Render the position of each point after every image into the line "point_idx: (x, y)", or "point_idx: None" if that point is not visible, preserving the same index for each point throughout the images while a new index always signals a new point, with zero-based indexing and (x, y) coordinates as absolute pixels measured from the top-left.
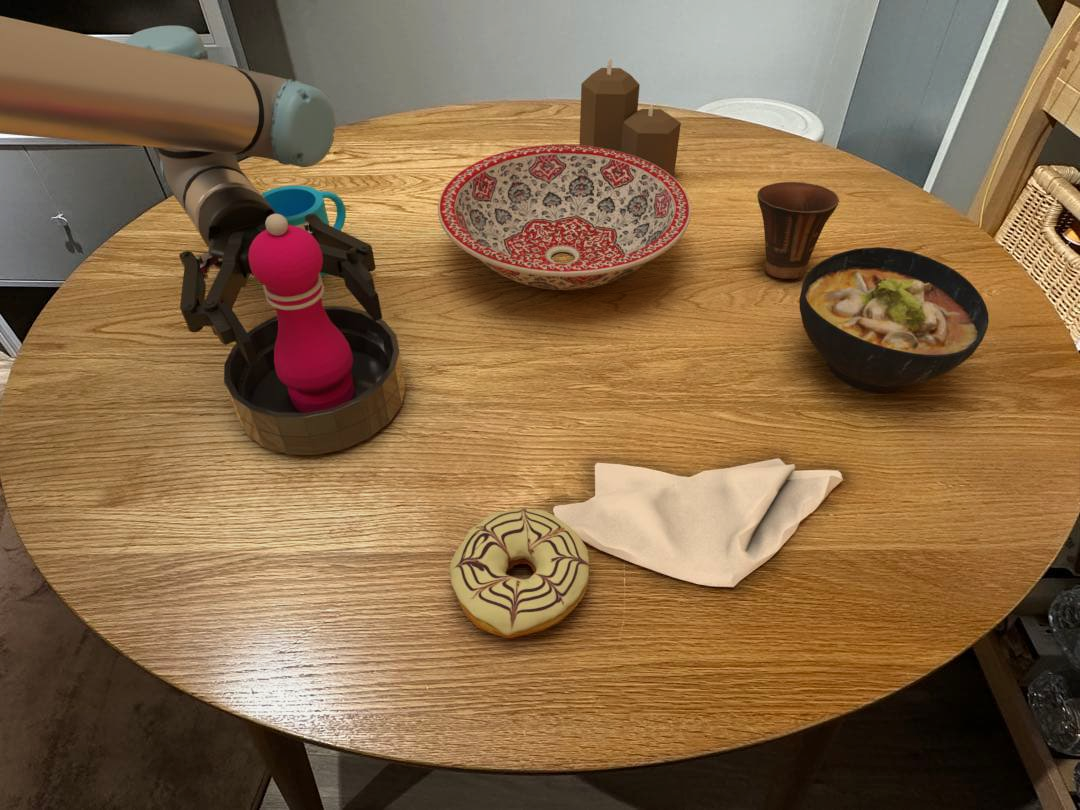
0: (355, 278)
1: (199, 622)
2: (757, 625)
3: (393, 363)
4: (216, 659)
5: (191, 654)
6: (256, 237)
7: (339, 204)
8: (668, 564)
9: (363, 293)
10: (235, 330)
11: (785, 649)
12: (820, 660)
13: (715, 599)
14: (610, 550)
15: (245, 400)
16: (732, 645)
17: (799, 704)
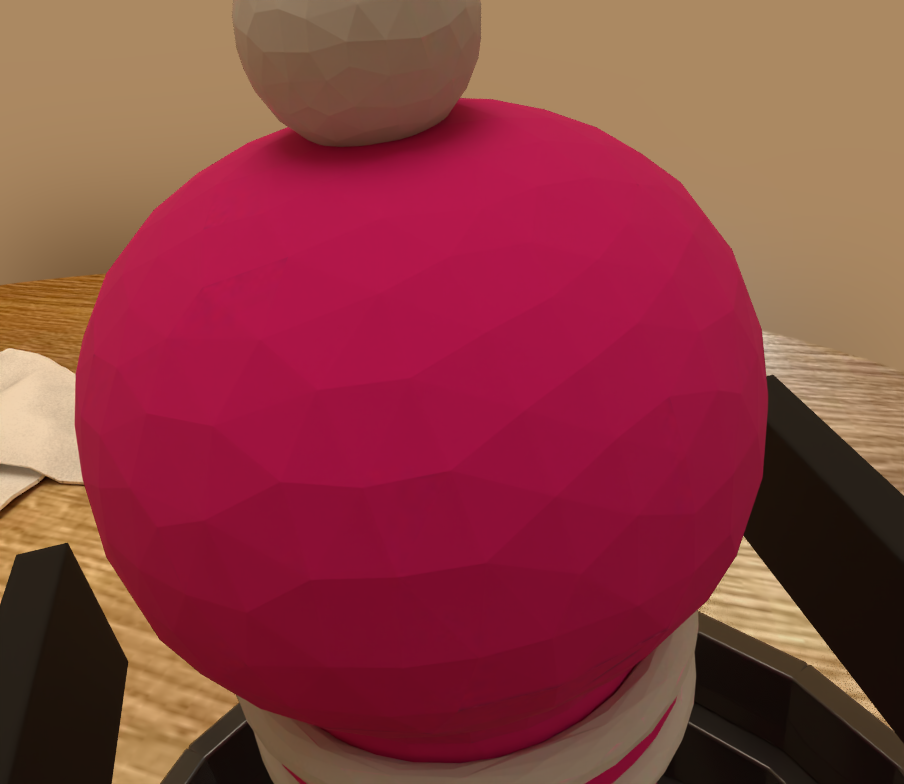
0: (11, 733)
1: (829, 409)
2: (41, 329)
3: (176, 774)
4: (775, 364)
5: (824, 373)
6: (639, 199)
7: None
8: (56, 368)
9: (64, 649)
10: (841, 440)
11: (44, 312)
12: (26, 303)
13: (49, 353)
14: None
15: (848, 721)
16: (88, 318)
17: (90, 281)
